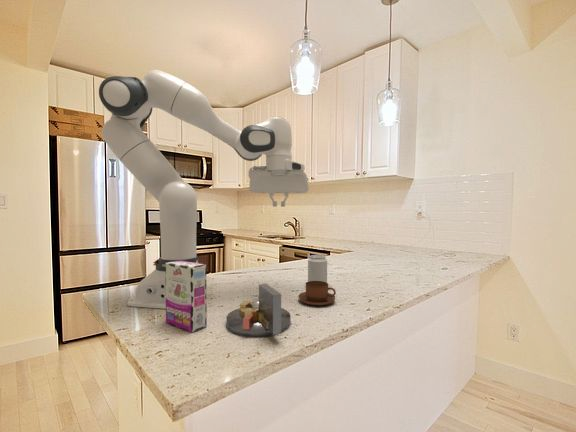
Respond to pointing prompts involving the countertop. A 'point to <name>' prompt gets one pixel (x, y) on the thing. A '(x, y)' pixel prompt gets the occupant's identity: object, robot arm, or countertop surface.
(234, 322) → the cap plate
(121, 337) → the countertop surface
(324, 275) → the can
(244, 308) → the gray slab gold ring
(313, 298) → the cup and saucer
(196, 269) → the candy bar box
